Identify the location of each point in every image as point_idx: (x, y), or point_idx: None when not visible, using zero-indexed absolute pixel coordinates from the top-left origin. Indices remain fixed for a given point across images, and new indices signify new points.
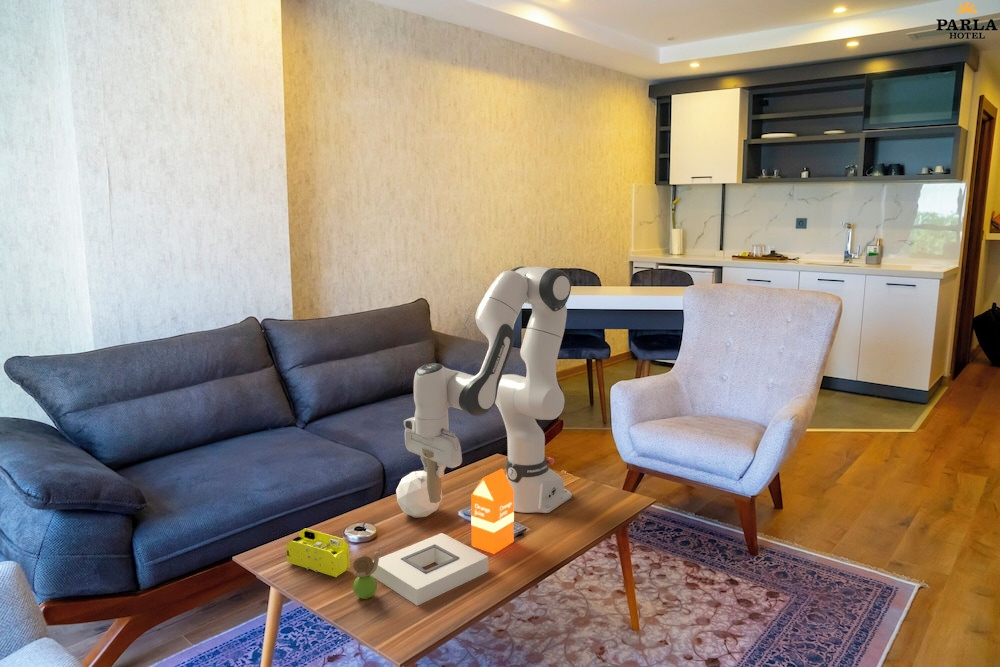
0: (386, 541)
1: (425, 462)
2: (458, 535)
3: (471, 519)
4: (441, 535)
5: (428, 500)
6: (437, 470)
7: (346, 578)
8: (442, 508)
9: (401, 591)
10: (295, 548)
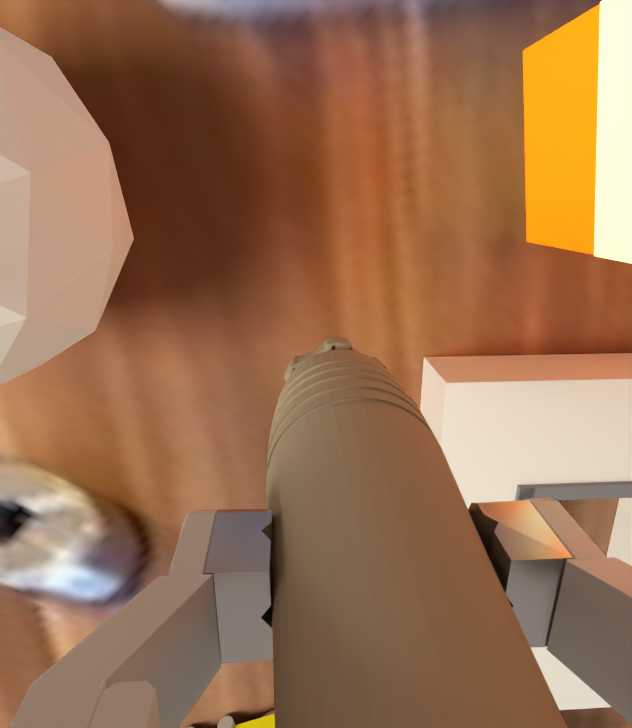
0: (199, 502)
1: (179, 695)
2: (392, 213)
3: (619, 260)
4: (468, 403)
5: (114, 255)
6: (521, 627)
7: None
8: (16, 20)
9: None
10: None
